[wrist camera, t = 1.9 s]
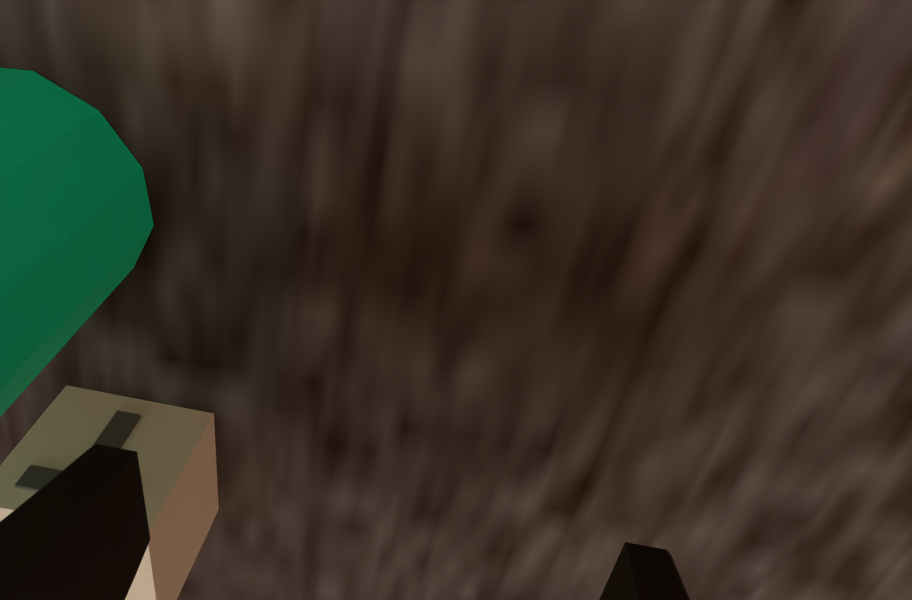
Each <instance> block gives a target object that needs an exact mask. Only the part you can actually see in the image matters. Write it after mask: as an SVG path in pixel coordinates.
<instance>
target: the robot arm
mask: <svg viewBox="0 0 912 600" xmlns="http://www.w3.org/2000/svg"><path fill="white" fill-rule="evenodd" d="M149 542H150V533H149V526H148V519H147V513H146V506H145V500H144V493H143V487H142V480H141V474H140V467H139V460H138V454H137V451H131V450H126V449H121V448H115V447H110V446H104V445H99V444H95V445H94V446H92V447H91V448H89V449H88V450H87V451H85V452H84V453H83V454H82V455H81V456H79V457H78V458H77V459H76V460H75V461H73V462H72V463H71V464H70V465H69V466H67V467H66V468H65V469H64V470H63V471H61V472H60V473H59V474H58V475H56V476H55V477H54V478H53V479H52V480H50V481H49V482H48V483H47V484H46V485H44V486H43V487H42V488H41V489H40V490H38V491H37V492H36V493H35V494H34V495H32V496H31V497H30V498H29V499H27V500H26V501H25V502H24V503H23V504H21V505H20V506H19V507H18V508H16V509H15V510H14V511H13V512H11V513H10V514H9V515H8V516H7V517H5V518H4V519H3V520H2V521H0V600H125V598H126V596H127V594H128V591H129V589H130V587H131V585H132V582H133V580H134V578H135V576H136V573H137V571H138V568H139V566H140V563H141V561H142V559H143V556H144V554H145V551H146V549H147V547H148V544H149ZM599 600H690V599H689V596H688V594H687V592H686V589H685V587H684V585H683V582H682V580H681V578H680V575H679V573H678V570H677V568H676V566H675V563H674V561H673V558H672V556H671V555H670V553H669V552H668V551H667V550H665V549H659V548H654V547H648V546H643V545H638V544H632V543H627V542H625V544H624V546H623V549H622V551H621V553H620V555H619V557H618V560H617V562H616V564H615V566H614V568H613V571H612V573H611V575H610V577H609V579H608V582H607V584H606V586H605V588H604V591H603V593H602V595H601V597H600V599H599Z"/></svg>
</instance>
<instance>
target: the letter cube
mask: <svg viewBox="0 0 912 600" xmlns="http://www.w3.org/2000/svg"><path fill="white" fill-rule="evenodd" d="M95 444H99V445H104V446H110V447H115V448H121V449H126V450H131V451H137V454H138V460H139V467H140V474H141V480H142V487H143V493H144V500H145V506H146V513H147V519H148V526H149V533H150V542H149V544H148V547H147V549H146V551H145V554H144V556H143V559H142V561H141V563H140V566H139V568H138V571H137V573H136V576H135V578H134V580H133V582H132V585H131V587H130V589H129V591H128V594H127V596H126V598H125V600H177V598H178V596H179V594H180V591H181V589H182V587H183V585H184V583H185V581H186V579H187V576H188V574H189V572H190V570H191V568H192V566H193V564H194V561H195V559H196V557H197V555H198V553H199V551H200V549H201V546H202V544H203V542H204V540H205V538H206V536H207V534H208V531H209V529H210V527H211V525H212V523H213V521H214V519H215V516H216V514H217V512H218V510H219V507H218V486H217V466H216V446H215V426H214V413H209V412H204V411H198V410H193V409H188V408H183V407H177V406H172V405H167V404H162V403H156V402H151V401H146V400H141V399H135V398H130V397H125V396H120V395H114V394H109V393H104V392H99V391H93V390H88V389H83V388H78V387H73V386H67V385H66V386H65V388H64V389H63V390H62V391H61V393H60V394H59V395H58V396H57V397H56V399H55V400H54V401H53V402H52V403H51V405H50V406H49V407H48V408H47V409H46V411H45V412H44V413H43V414H42V416H41V417H40V418H39V419H38V420H37V422H36V423H35V424H34V425H33V426H32V428H31V429H30V430H29V431H28V432H27V434H26V435H25V436H24V437H23V439H22V440H21V441H20V442H19V443H18V445H17V446H16V447H15V448H14V449H13V451H12V452H11V453H10V454H9V455H8V457H7V458H6V459H5V460H4V462H3V463H2V464H1V465H0V521H2V520H3V519H4V518H5V517H7V516H8V515H9V514H10V513H11V512H13V511H14V510H15V509H16V508H18V507H19V506H20V505H21V504H23V503H24V502H25V501H26V500H27V499H29V498H30V497H31V496H32V495H34V494H35V493H36V492H37V491H38V490H40V489H41V488H42V487H43V486H44V485H46V484H47V483H48V482H49V481H50V480H52V479H53V478H54V477H55V476H56V475H58V474H59V473H60V472H61V471H63V470H64V469H65V468H66V467H67V466H69V465H70V464H71V463H72V462H73V461H75V460H76V459H77V458H78V457H79V456H81V455H82V454H83V453H84V452H85V451H87V450H88V449H89V448H91V447H92V446H94V445H95Z"/></svg>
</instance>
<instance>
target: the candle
mask: <svg viewBox="0 0 912 600" xmlns="http://www.w3.org/2000/svg"><path fill="white" fill-rule="evenodd" d="M153 226H154V223H153V218H152V213H151V208H150V203H149V198H148V193H147V188H146V183H145V178H144V173H143V168H142V167H141V165H140V164H139V163H138V161H137V160H136V159H135V158H134V156H133V155H132V154H131V152H130V151H129V150H128V148H127V147H126V146H125V144H124V143H123V142H122V140H121V139H120V138H119V136H118V135H117V134H116V132H115V131H114V130H113V128H112V127H111V126H110V124H109V123H108V122H107V120H106V119H105V118H104V117H103V115H102V114H101V113H100V111H99V110H97V109H96V108H94V107H92V106H91V105H89V104H87V103H86V102H84V101H82V100H81V99H79V98H77V97H76V96H74V95H72V94H71V93H69V92H67V91H66V90H64V89H62V88H61V87H59V86H57V85H56V84H54V83H52V82H51V81H49V80H47V79H46V78H44V77H42V76H41V75H39V74H37V73H36V72H34V71H29V70H19V69H9V68H0V417H1V416H2V415H3V413H4V412H5V411H6V410H7V409H8V408H9V407H10V406H11V404H12V403H13V402H14V401H15V400H16V399H17V398H18V397H19V396H20V394H21V393H22V392H23V391H24V390H25V389H26V388H27V387H28V385H29V384H30V383H31V382H32V381H33V380H34V379H35V378H36V377H37V375H38V374H39V373H40V372H41V371H42V370H43V369H44V368H45V366H46V365H47V364H48V363H49V362H50V361H51V360H52V359H53V357H54V356H55V355H56V354H57V353H58V352H59V351H60V350H61V349H62V347H63V346H64V345H65V344H66V343H67V342H68V341H69V340H70V338H71V337H72V336H73V335H74V334H75V333H76V332H77V331H78V330H79V328H80V327H81V326H82V325H83V324H84V323H85V322H86V321H87V319H88V318H89V317H90V316H91V315H92V314H93V313H94V312H95V311H96V309H97V308H98V307H99V306H100V305H101V304H102V303H103V302H104V300H105V299H106V298H107V297H108V296H109V295H110V294H111V293H112V291H113V290H114V289H115V288H116V287H117V286H118V285H119V284H120V283H121V281H122V280H123V279H124V278H125V277H126V276H127V275H128V274H129V272H130V271H131V270H132V269H133V268H134V266H135V264H136V262H137V260H138V258H139V256H140V254H141V252H142V250H143V247H144V245H145V243H146V241H147V239H148V237H149V235H150V233H151V230H152V228H153Z"/></svg>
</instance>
